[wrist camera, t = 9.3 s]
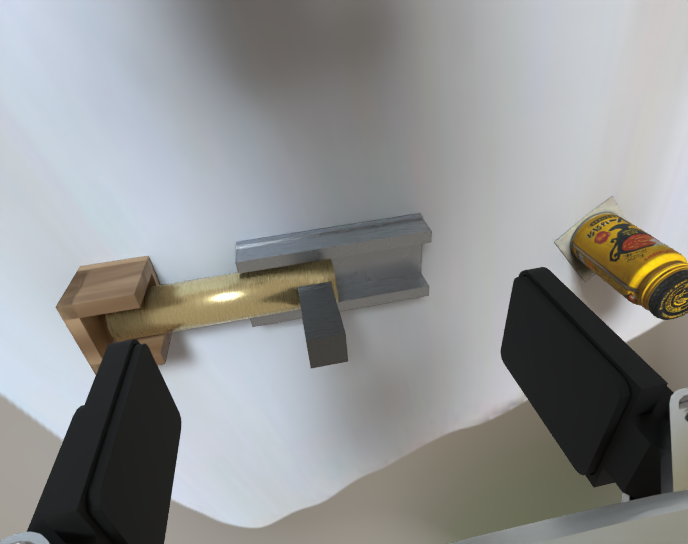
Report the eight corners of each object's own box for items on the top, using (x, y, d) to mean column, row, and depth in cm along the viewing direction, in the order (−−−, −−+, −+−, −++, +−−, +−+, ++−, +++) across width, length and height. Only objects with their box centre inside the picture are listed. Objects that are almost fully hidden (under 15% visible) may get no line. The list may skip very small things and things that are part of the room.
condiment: (611, 194, 45) (711, 252, 36) (637, 240, 50) (733, 303, 40) (553, 240, 47) (632, 307, 38) (583, 280, 52) (661, 349, 42)
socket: (79, 266, 39) (55, 307, 34) (148, 255, 39) (134, 294, 34) (113, 331, 43) (96, 376, 38) (174, 321, 44) (165, 363, 39)
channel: (235, 241, 40) (235, 260, 38) (420, 213, 42) (431, 228, 39) (252, 307, 45) (252, 328, 42) (418, 279, 47) (428, 297, 44)
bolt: (113, 283, 39) (71, 376, 30) (328, 248, 41) (351, 325, 32) (130, 319, 42) (96, 415, 32) (332, 285, 44) (354, 366, 35)
